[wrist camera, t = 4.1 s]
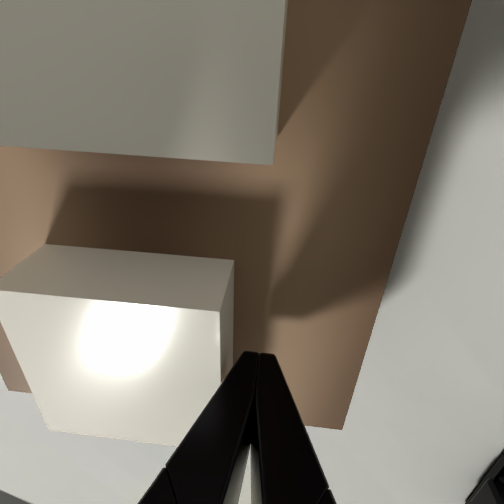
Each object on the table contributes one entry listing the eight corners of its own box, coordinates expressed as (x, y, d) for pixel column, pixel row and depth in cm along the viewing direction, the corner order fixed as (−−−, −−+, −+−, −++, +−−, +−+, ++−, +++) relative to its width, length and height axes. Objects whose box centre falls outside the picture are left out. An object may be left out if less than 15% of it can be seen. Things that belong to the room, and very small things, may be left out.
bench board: (458, -226, 7) (623, -502, 3) (330, 343, 15) (342, 429, 12) (-93, -225, 8) (-409, -455, 4) (69, 316, 16) (8, 390, 12)
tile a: (234, 259, 9) (219, 312, 7) (232, 390, 11) (221, 451, 9) (45, 243, 9) (-15, 288, 7) (85, 373, 11) (48, 430, 10)
